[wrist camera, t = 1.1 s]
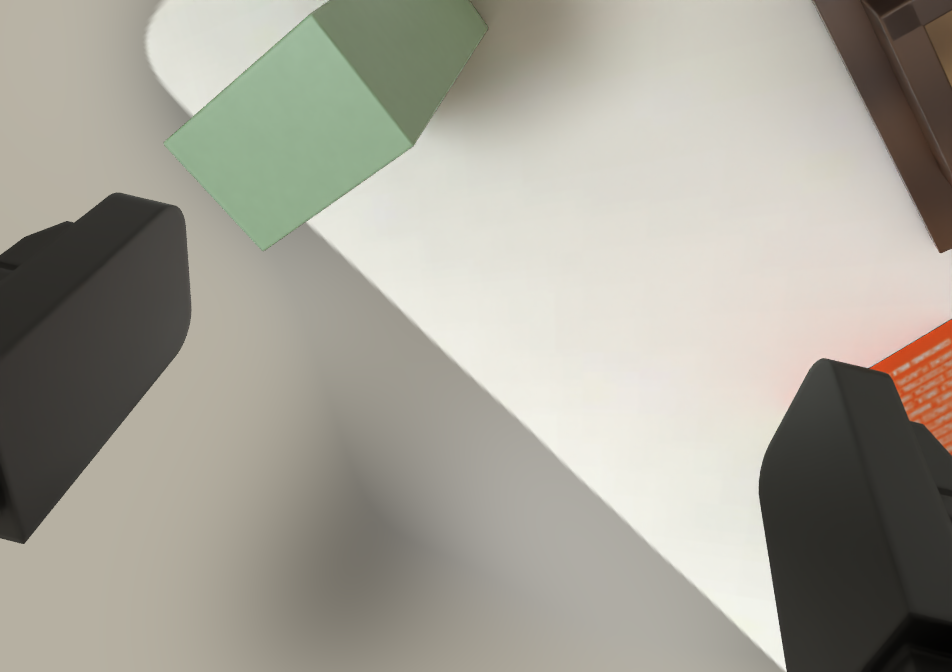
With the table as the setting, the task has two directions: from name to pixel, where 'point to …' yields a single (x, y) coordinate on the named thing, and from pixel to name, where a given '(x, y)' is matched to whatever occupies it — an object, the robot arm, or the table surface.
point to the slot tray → (904, 91)
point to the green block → (326, 108)
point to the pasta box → (926, 381)
